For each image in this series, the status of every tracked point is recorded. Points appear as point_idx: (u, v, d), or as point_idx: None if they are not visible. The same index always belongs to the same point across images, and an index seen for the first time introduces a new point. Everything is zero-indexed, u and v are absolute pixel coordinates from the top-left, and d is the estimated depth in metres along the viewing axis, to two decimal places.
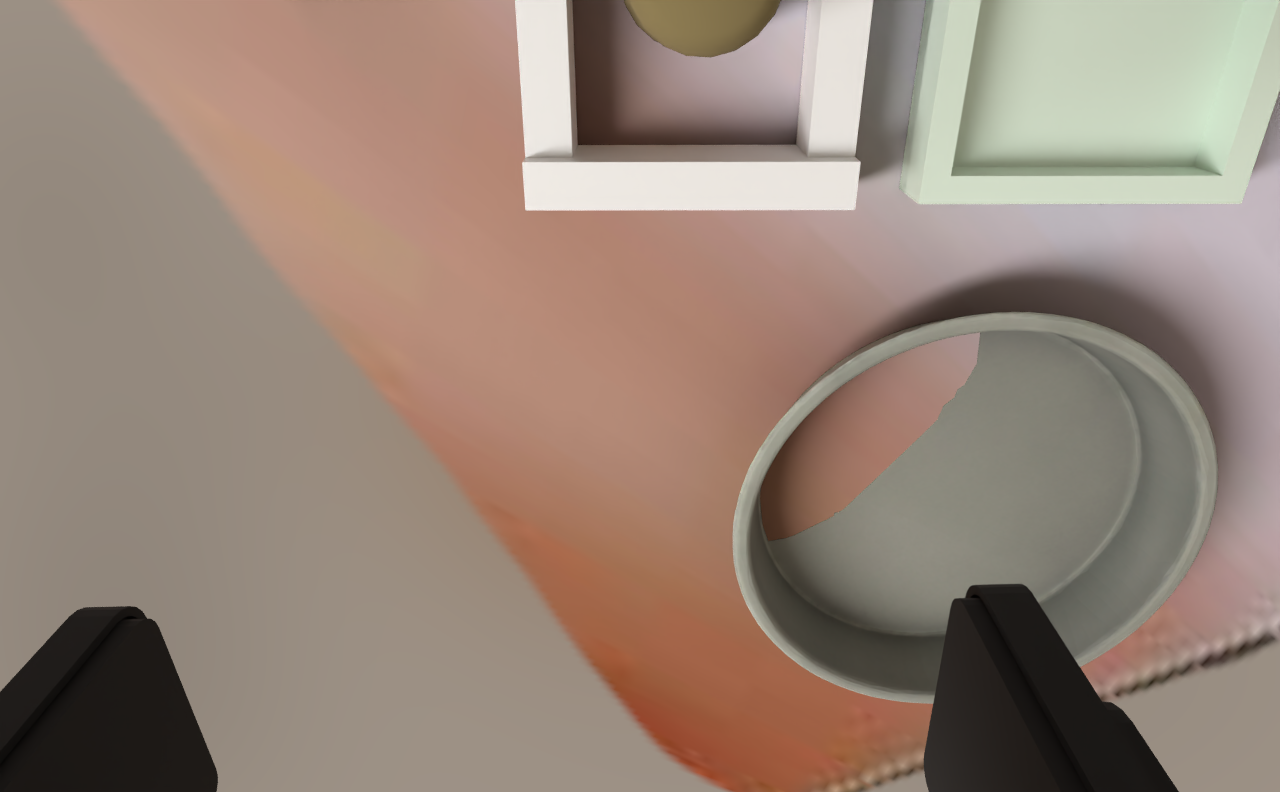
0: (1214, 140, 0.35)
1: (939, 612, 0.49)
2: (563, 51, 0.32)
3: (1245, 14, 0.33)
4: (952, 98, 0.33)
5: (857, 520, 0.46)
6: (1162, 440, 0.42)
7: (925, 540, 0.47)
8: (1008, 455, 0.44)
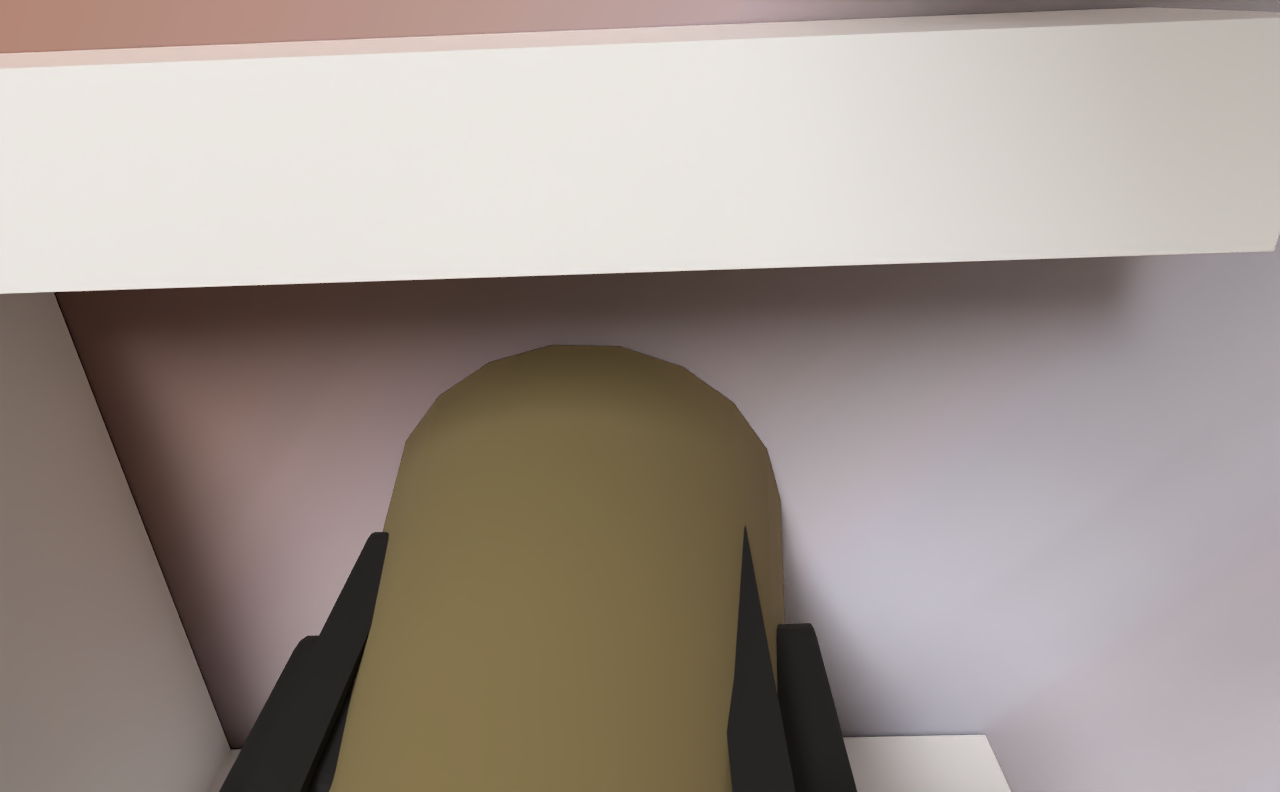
0: None
1: None
2: (228, 266, 0.08)
3: None
4: None
5: None
6: None
7: None
8: None
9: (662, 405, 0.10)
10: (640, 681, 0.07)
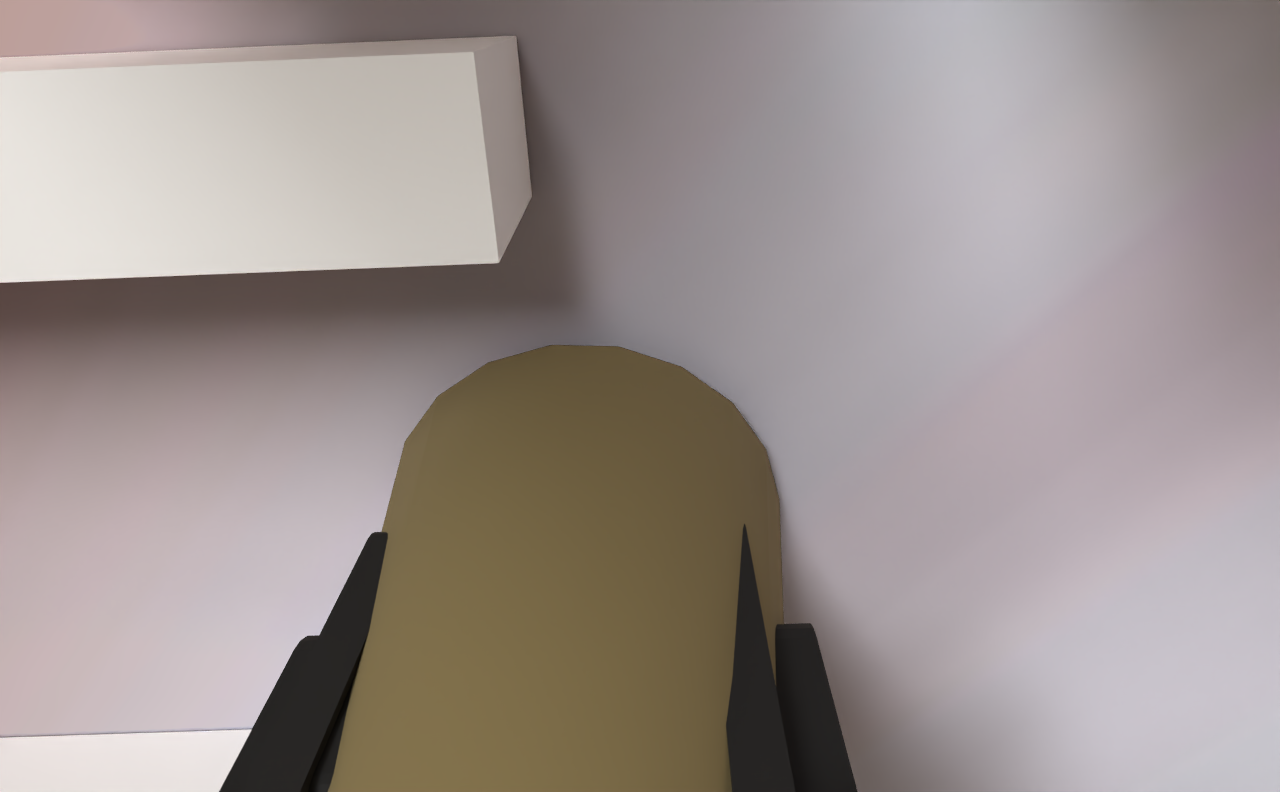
0: None
1: None
2: None
3: None
4: None
5: None
6: None
7: None
8: None
9: (661, 405, 0.10)
10: (637, 681, 0.07)
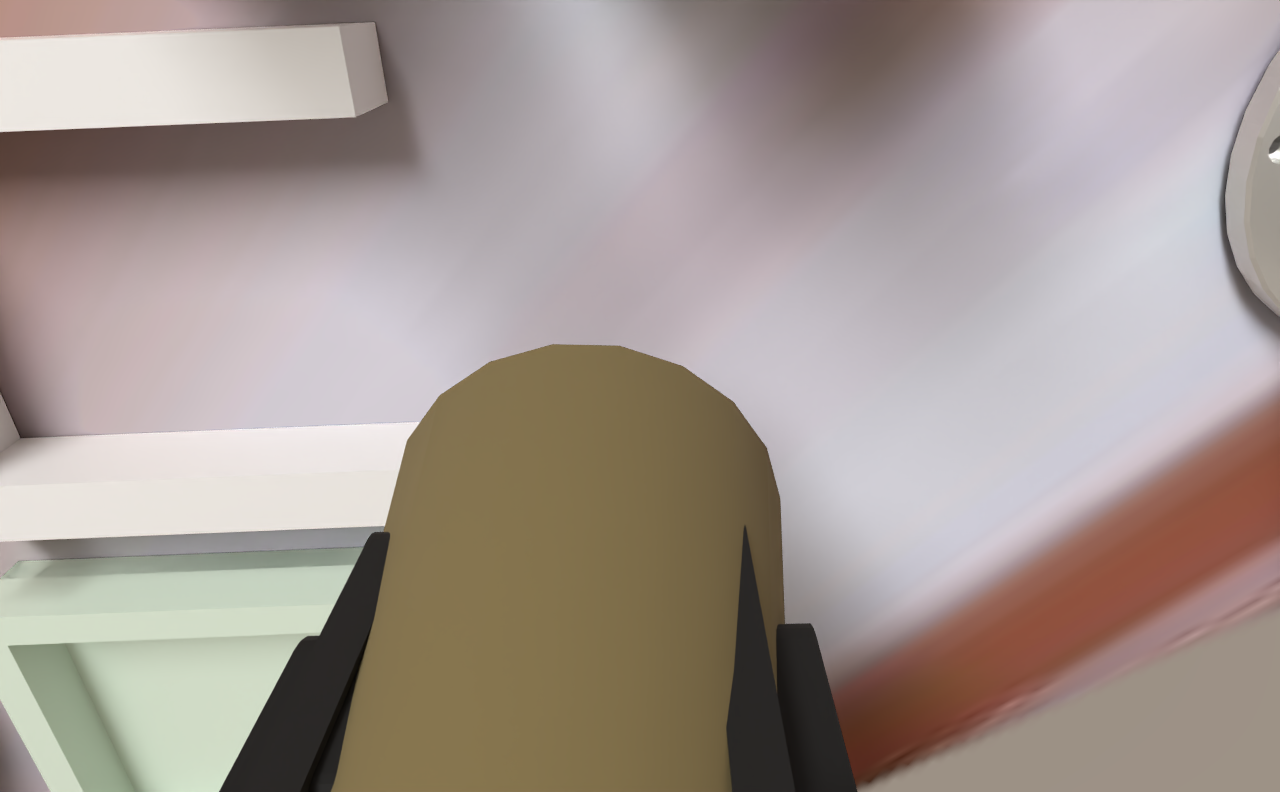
0: None
1: None
2: None
3: None
4: (96, 630, 0.27)
5: None
6: None
7: None
8: None
9: (662, 404, 0.10)
10: (640, 678, 0.07)
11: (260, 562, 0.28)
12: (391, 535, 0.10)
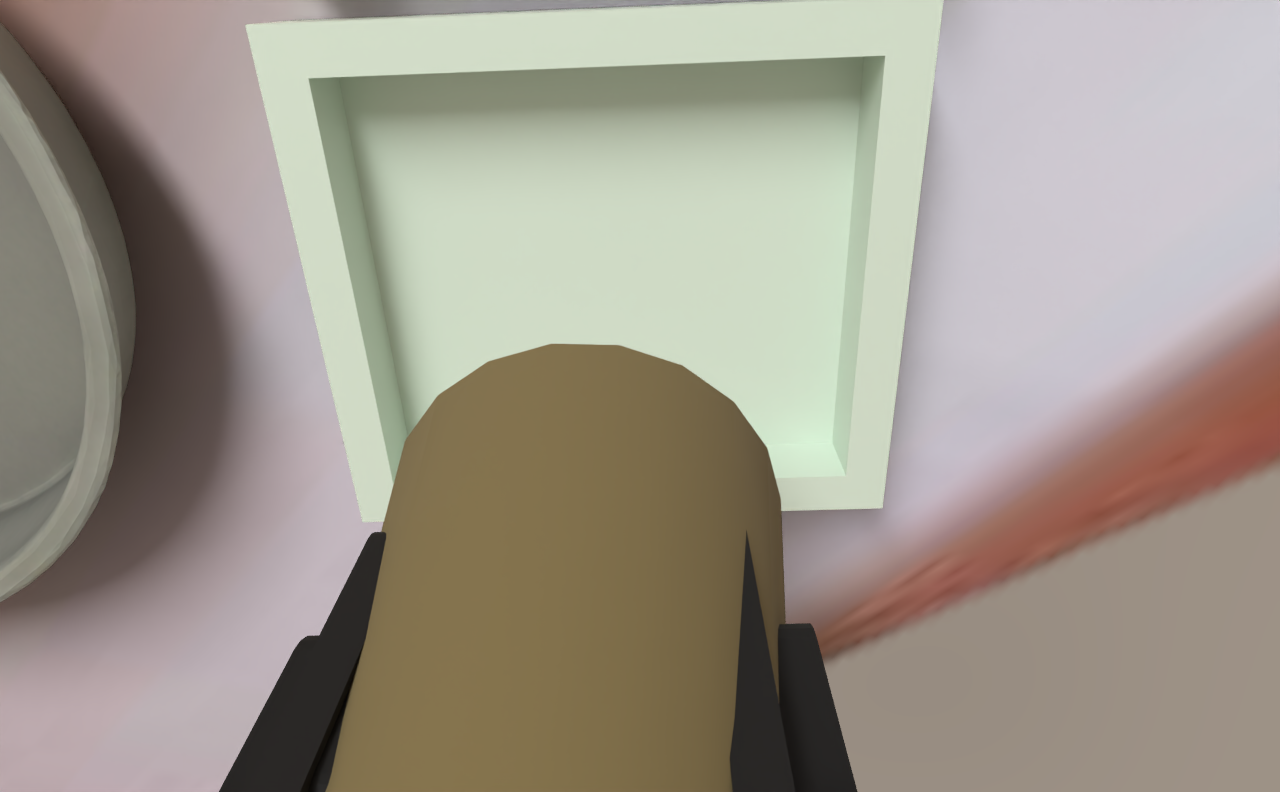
0: None
1: None
2: None
3: None
4: (436, 51, 0.19)
5: None
6: (1, 536, 0.27)
7: None
8: None
9: (662, 404, 0.10)
10: (640, 682, 0.07)
11: (635, 6, 0.20)
12: (389, 536, 0.10)
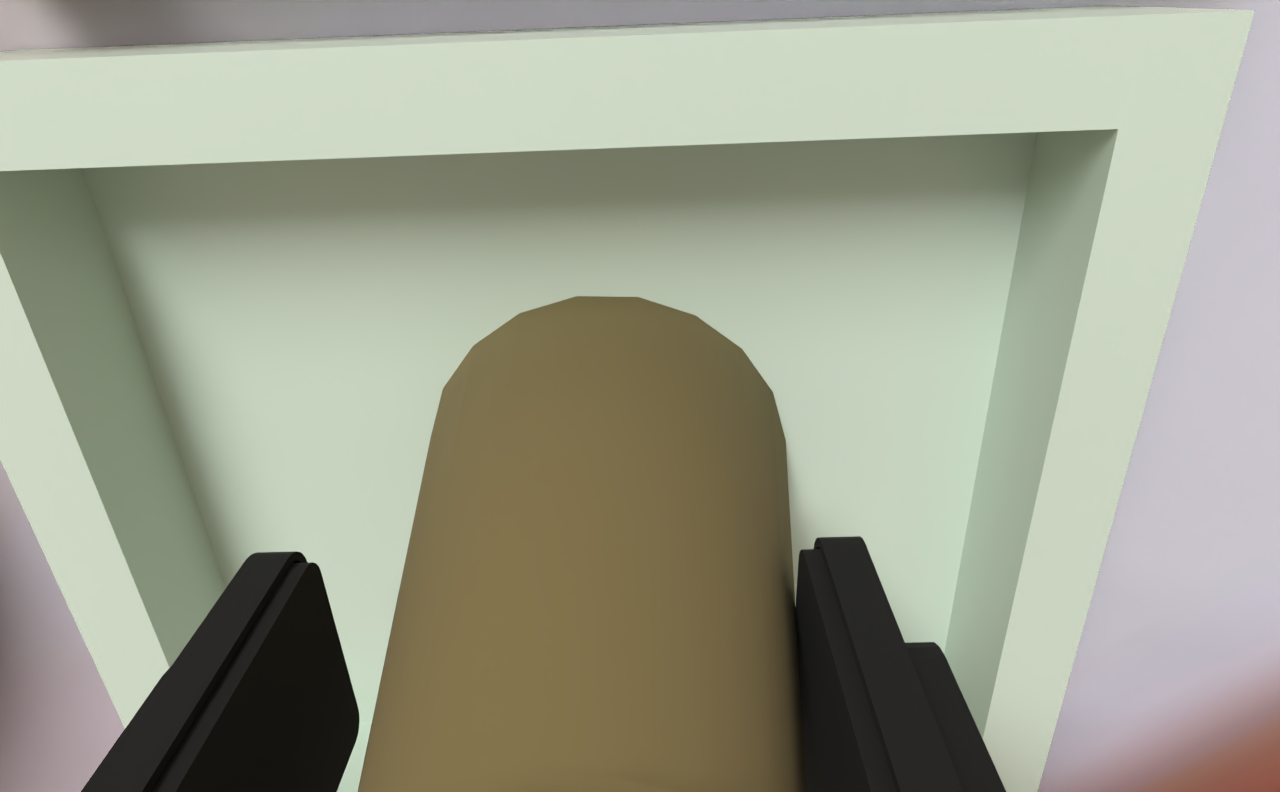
0: None
1: None
2: None
3: None
4: (216, 120, 0.09)
5: None
6: None
7: None
8: None
9: (678, 345, 0.12)
10: (668, 556, 0.08)
11: (619, 27, 0.11)
12: (437, 462, 0.11)
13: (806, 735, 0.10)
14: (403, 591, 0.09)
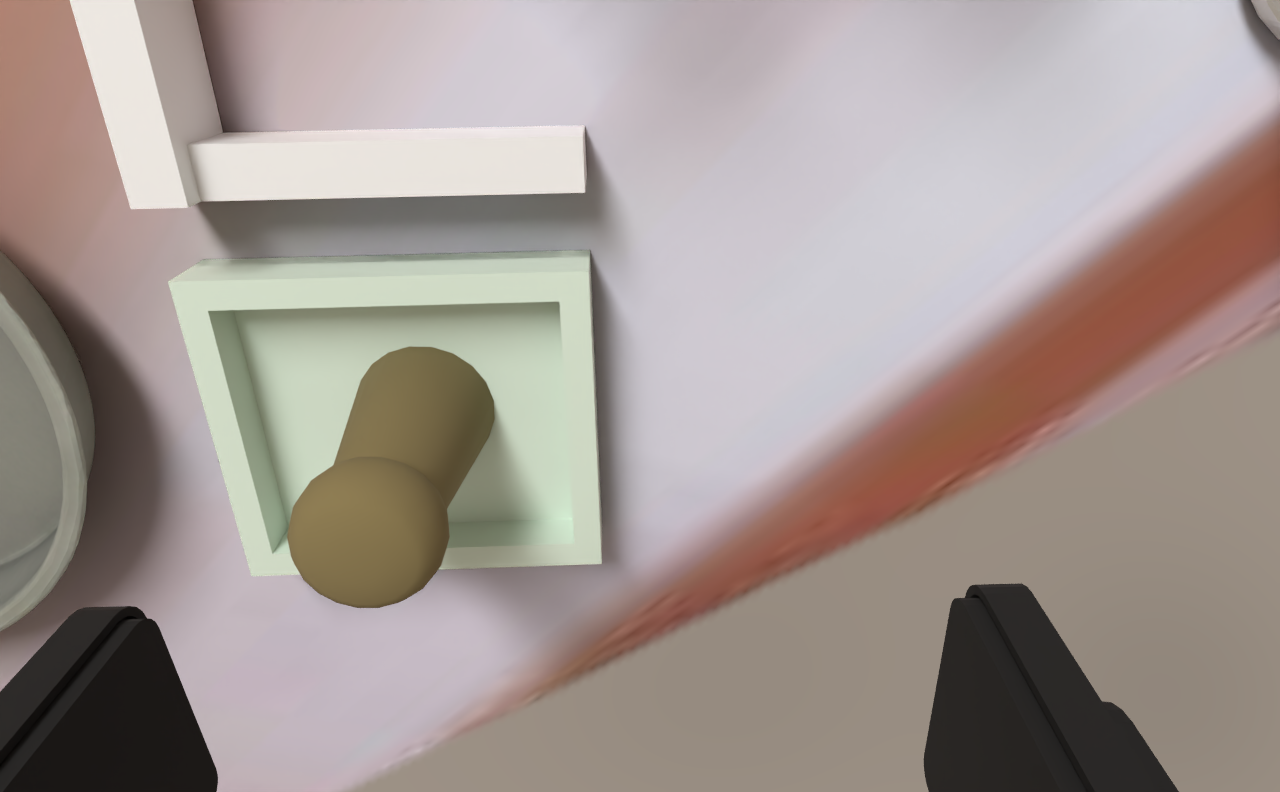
0: None
1: None
2: None
3: None
4: (287, 296, 0.31)
5: None
6: None
7: None
8: None
9: (441, 364, 0.33)
10: (414, 421, 0.30)
11: (418, 258, 0.33)
12: (355, 403, 0.33)
13: None
14: None
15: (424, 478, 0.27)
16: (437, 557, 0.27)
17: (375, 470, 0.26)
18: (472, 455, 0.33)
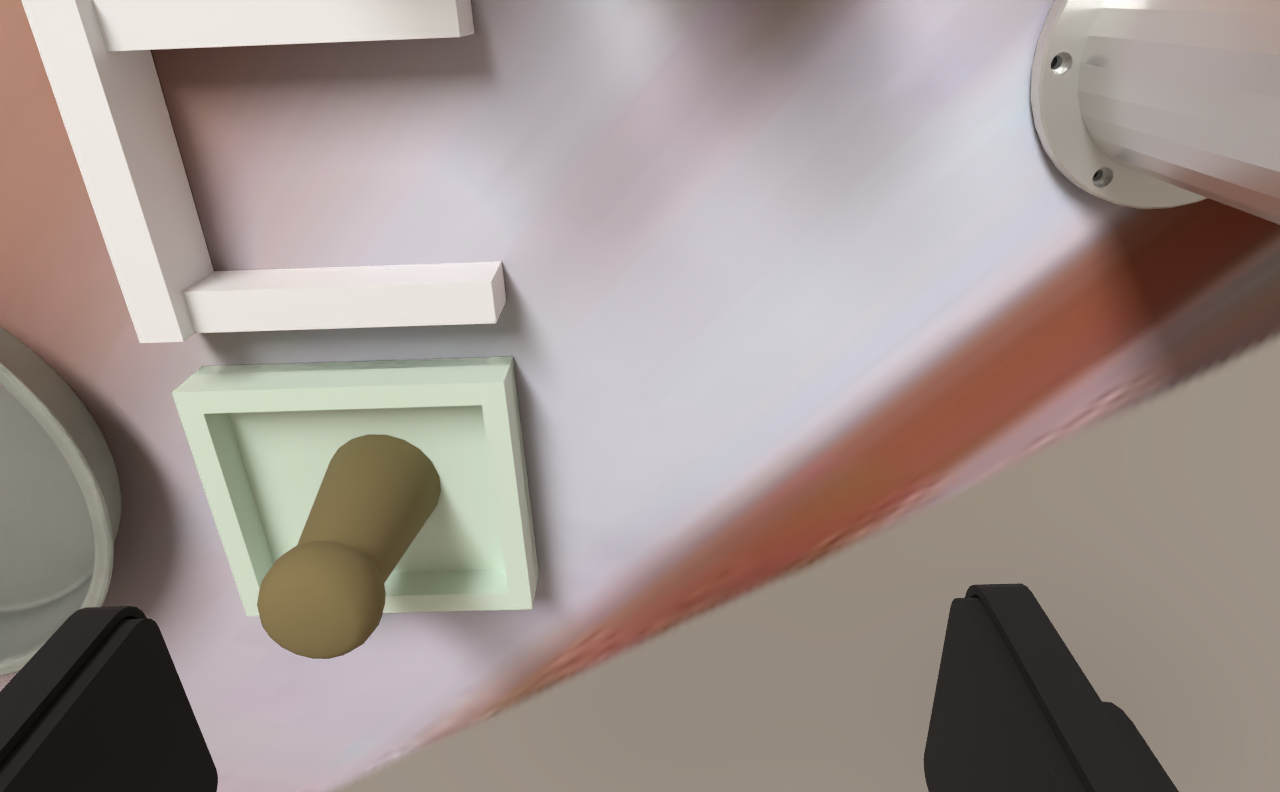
0: None
1: None
2: (209, 41, 0.32)
3: None
4: (264, 403, 0.39)
5: None
6: (43, 621, 0.47)
7: None
8: None
9: (392, 451, 0.41)
10: (362, 506, 0.37)
11: (372, 366, 0.40)
12: (322, 484, 0.40)
13: None
14: None
15: (363, 558, 0.35)
16: (372, 621, 0.34)
17: (322, 555, 0.34)
18: (415, 526, 0.40)
